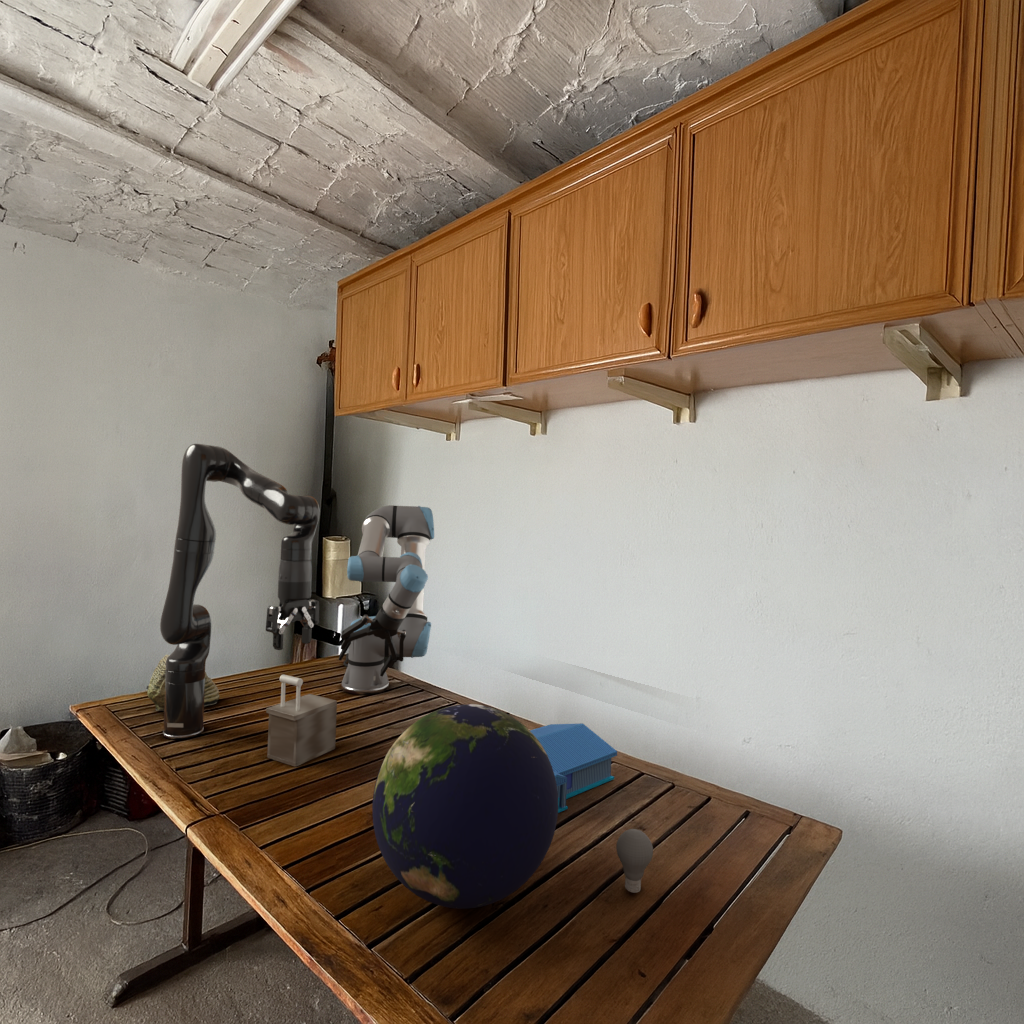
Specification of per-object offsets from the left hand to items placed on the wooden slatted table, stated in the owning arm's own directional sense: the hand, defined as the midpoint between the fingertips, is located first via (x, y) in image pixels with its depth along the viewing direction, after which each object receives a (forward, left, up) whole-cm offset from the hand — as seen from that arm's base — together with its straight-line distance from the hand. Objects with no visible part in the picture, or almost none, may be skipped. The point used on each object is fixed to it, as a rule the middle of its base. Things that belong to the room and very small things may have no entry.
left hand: (292, 646), depth 151 cm
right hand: (-24, +33, -15) cm, 44 cm away
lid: (-1, +4, -16) cm, 17 cm away
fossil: (-53, -8, -27) cm, 60 cm away
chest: (-1, +4, -27) cm, 28 cm away
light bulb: (+84, +22, -27) cm, 91 cm away
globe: (+67, 0, -27) cm, 72 cm away
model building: (+47, +35, -27) cm, 64 cm away
